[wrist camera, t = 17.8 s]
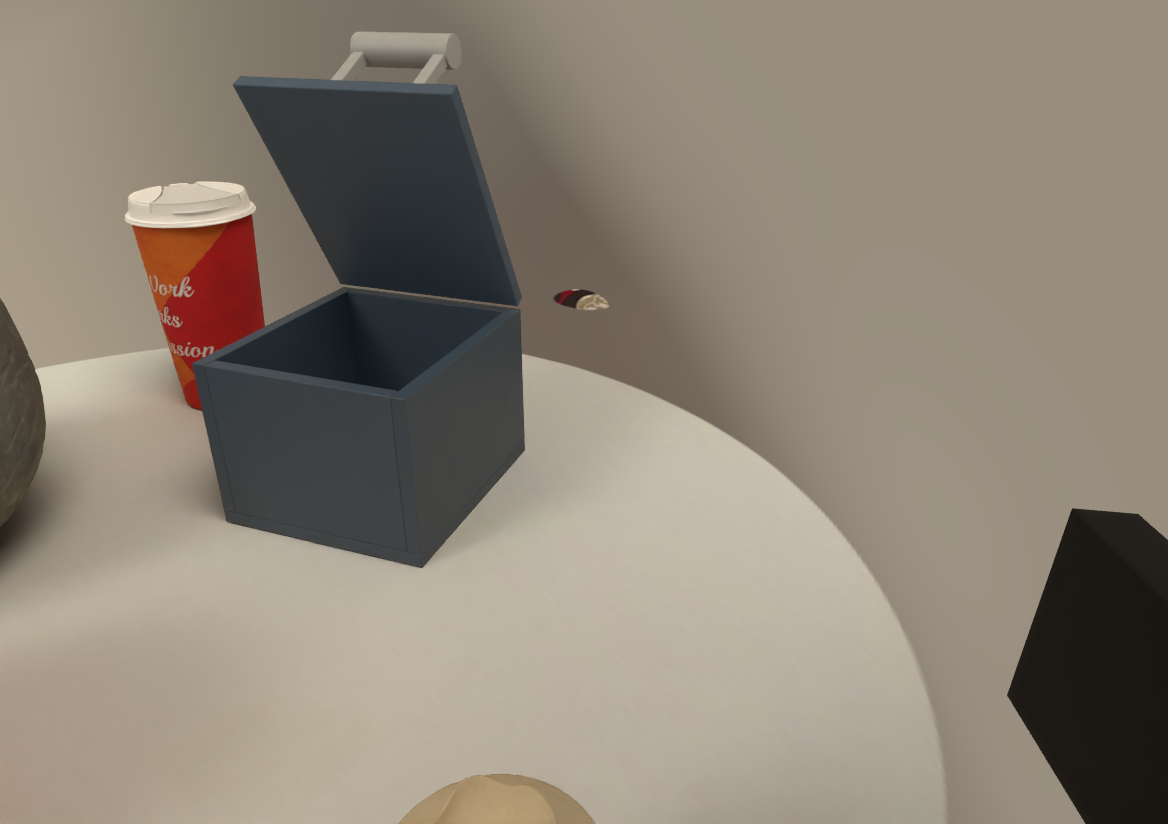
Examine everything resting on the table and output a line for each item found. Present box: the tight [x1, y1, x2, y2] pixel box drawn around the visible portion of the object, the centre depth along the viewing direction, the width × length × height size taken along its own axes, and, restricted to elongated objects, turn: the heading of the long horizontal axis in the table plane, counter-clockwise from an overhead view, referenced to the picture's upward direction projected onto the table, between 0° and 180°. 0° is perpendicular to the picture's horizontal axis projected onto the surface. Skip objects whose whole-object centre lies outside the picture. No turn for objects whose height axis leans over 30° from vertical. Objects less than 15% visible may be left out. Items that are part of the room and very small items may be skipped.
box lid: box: [233, 32, 522, 306], centre depth 49 cm, size 14×13×8 cm
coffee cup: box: [125, 182, 265, 410], centre depth 60 cm, size 8×8×15 cm
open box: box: [192, 287, 525, 568], centre depth 49 cm, size 14×13×10 cm
